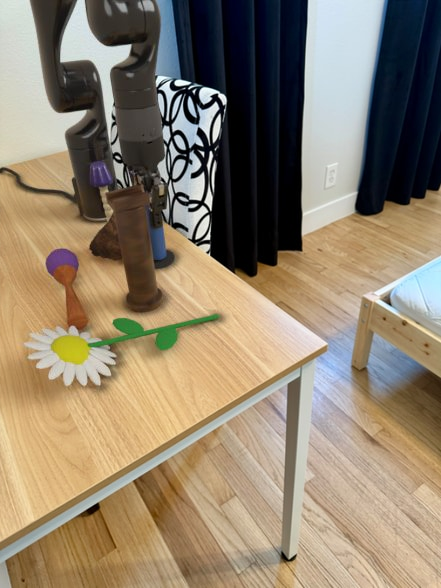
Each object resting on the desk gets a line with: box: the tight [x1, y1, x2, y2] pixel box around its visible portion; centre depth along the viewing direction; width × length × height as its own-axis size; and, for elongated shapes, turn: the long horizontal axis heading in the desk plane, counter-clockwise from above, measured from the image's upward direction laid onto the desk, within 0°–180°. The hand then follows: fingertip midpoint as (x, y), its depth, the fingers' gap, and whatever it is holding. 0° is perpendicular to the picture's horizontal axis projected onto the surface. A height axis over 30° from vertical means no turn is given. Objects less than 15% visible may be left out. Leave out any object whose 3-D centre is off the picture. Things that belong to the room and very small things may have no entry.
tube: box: [146, 199, 167, 260], centre depth 84 cm, size 12×4×4 cm
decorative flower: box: [23, 313, 220, 387], centre depth 67 cm, size 13×5×30 cm
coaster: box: [154, 249, 176, 270], centre depth 88 cm, size 7×7×1 cm
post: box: [105, 184, 164, 313], centre depth 71 cm, size 6×6×21 cm
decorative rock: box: [88, 213, 123, 262], centre depth 86 cm, size 12×6×11 cm, turn 77°
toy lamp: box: [90, 161, 113, 223], centre depth 91 cm, size 5×5×17 cm
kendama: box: [45, 247, 89, 331], centre depth 77 cm, size 6×6×20 cm
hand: (152, 222), depth 83 cm, fingers closed on tube, 3 cm apart
